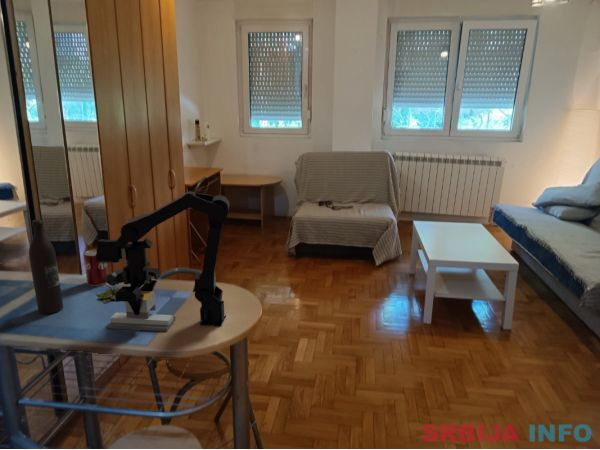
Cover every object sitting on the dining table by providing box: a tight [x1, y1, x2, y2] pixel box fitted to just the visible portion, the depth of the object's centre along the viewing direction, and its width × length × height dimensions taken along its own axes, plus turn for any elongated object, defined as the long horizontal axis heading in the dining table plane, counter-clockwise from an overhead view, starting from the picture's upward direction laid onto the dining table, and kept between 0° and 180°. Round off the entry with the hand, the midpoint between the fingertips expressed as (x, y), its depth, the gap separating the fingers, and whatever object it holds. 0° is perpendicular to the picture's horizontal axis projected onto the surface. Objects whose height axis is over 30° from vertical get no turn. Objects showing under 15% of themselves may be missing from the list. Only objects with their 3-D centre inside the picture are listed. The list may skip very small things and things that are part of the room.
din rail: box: [107, 312, 176, 332], centre depth 132 cm, size 18×7×2 cm, turn 86°
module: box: [124, 291, 157, 319], centre depth 131 cm, size 6×6×6 cm
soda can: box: [83, 249, 109, 287], centre depth 160 cm, size 7×7×12 cm
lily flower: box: [96, 284, 121, 304], centre depth 151 cm, size 12×12×5 cm
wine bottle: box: [28, 219, 64, 315], centre depth 136 cm, size 7×7×30 cm
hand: (141, 309), depth 131 cm, fingers closed on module, 6 cm apart
